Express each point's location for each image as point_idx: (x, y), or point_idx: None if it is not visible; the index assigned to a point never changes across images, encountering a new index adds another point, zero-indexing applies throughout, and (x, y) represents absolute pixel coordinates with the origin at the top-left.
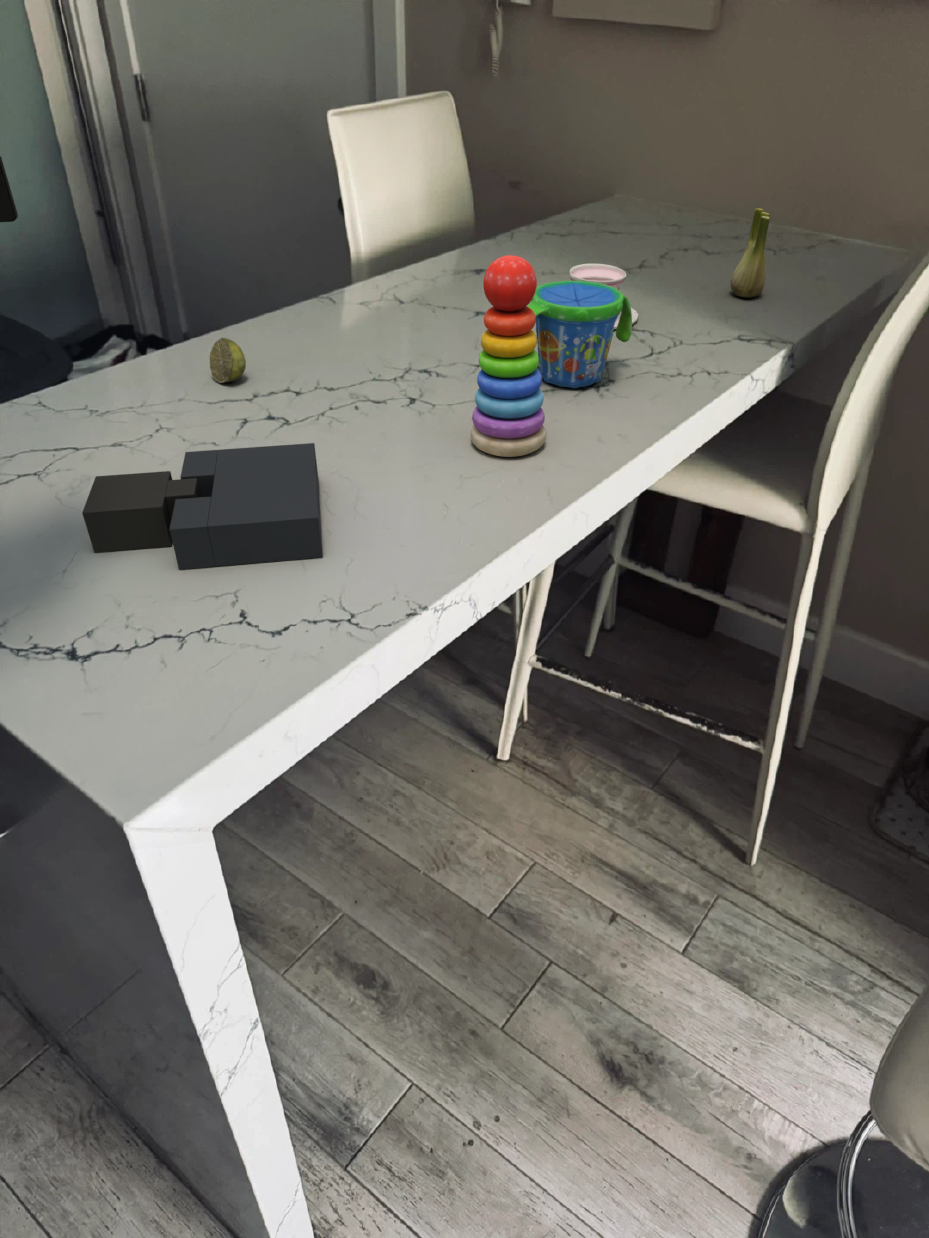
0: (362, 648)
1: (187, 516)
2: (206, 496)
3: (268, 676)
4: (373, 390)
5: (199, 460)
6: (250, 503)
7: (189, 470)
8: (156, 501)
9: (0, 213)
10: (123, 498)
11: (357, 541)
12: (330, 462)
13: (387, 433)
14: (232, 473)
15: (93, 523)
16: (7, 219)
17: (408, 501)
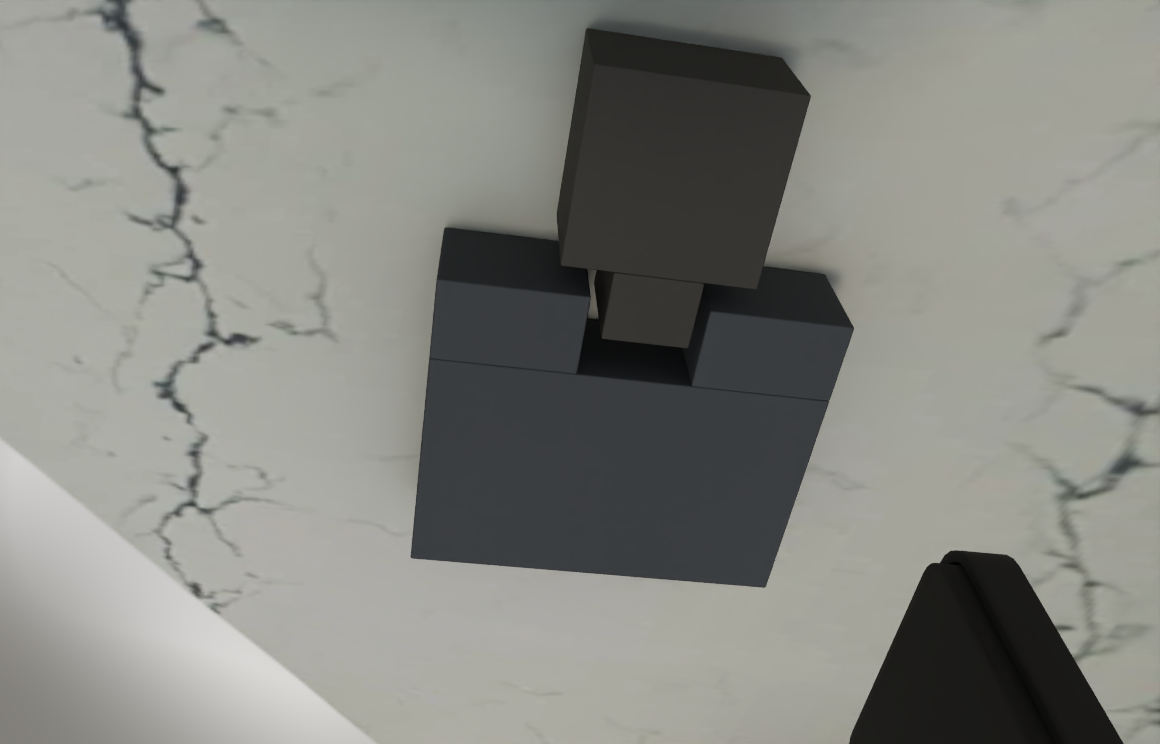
0: (102, 511)
1: (490, 320)
2: None
3: (27, 364)
4: (1131, 668)
5: (784, 358)
6: (512, 448)
7: (738, 333)
8: (594, 253)
9: (879, 741)
10: (641, 173)
11: None
12: (819, 550)
13: None
14: (678, 424)
15: (587, 75)
16: (860, 730)
17: (590, 646)
